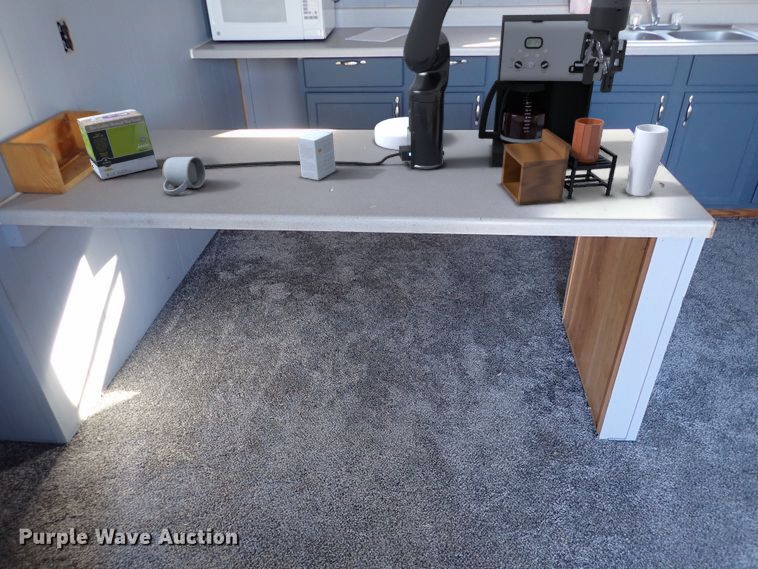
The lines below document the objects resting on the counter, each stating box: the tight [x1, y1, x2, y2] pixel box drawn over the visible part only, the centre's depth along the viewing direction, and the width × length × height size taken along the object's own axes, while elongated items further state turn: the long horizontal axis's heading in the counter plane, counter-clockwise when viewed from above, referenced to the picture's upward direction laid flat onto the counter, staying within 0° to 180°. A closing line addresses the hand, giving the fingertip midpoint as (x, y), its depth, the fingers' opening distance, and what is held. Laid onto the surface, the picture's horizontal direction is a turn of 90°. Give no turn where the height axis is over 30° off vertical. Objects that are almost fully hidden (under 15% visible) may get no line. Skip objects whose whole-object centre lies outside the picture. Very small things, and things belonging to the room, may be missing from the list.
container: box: [374, 116, 409, 151], centre depth 166 cm, size 20×20×5 cm
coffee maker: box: [477, 13, 604, 170], centre depth 142 cm, size 28×20×35 cm
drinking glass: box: [625, 123, 670, 197], centre depth 123 cm, size 7×7×15 cm
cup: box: [571, 117, 605, 162], centre depth 124 cm, size 6×6×8 cm
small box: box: [297, 129, 336, 181], centre depth 141 cm, size 8×6×10 cm
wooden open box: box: [500, 129, 570, 206], centre depth 125 cm, size 10×13×13 cm
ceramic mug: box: [161, 156, 206, 196], centre depth 136 cm, size 11×8×8 cm
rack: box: [564, 144, 619, 200], centre depth 127 cm, size 10×11×10 cm
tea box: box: [76, 108, 158, 180], centre depth 147 cm, size 15×10×15 cm, turn 126°
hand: (595, 87), depth 118 cm, fingers open, 8 cm apart
